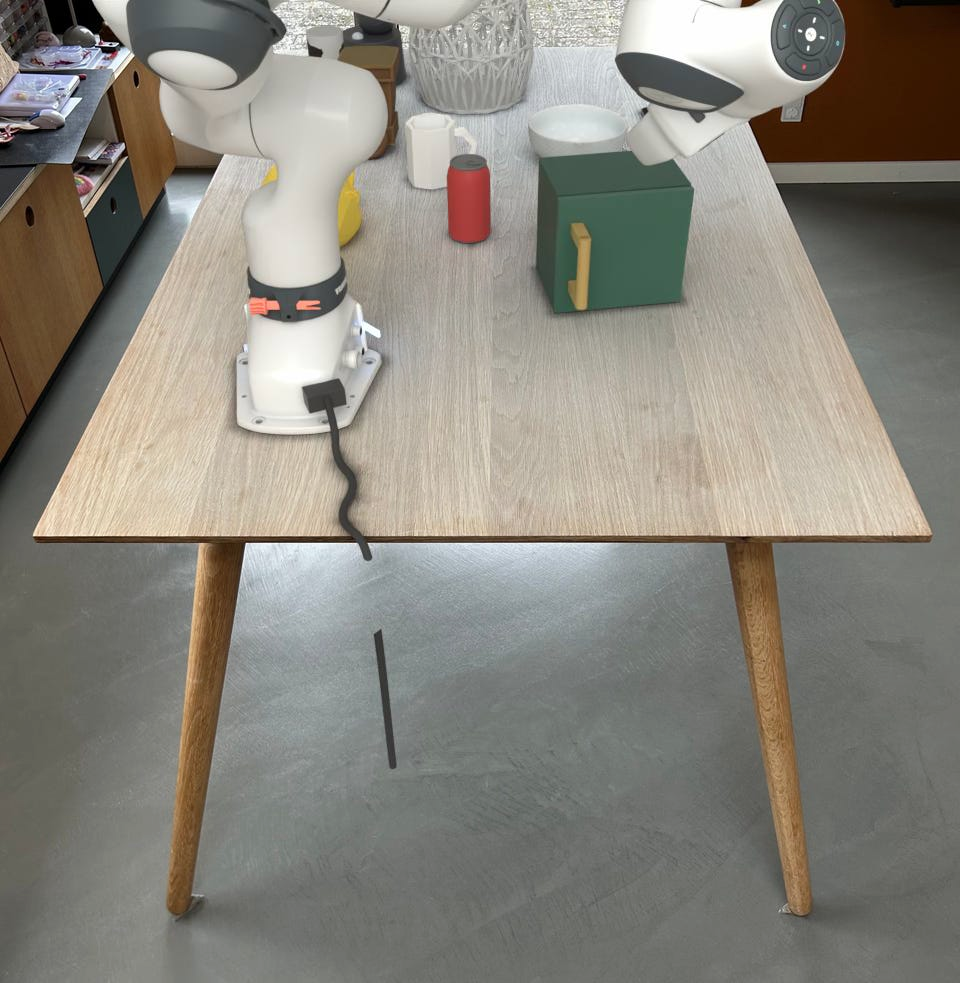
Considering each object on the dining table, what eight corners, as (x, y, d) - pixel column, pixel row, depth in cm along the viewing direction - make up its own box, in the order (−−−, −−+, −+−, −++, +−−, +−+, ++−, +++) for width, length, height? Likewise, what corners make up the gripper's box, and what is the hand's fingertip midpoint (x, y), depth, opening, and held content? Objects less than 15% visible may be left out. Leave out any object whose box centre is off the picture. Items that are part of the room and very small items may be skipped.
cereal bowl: (514, 173, 180) (515, 133, 176) (543, 137, 192) (544, 99, 187) (610, 187, 176) (613, 146, 171) (634, 149, 188) (637, 110, 183)
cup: (348, 104, 206) (341, 24, 196) (351, 116, 201) (343, 35, 191) (314, 106, 205) (305, 26, 195) (315, 119, 200) (306, 37, 190)
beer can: (486, 246, 160) (485, 171, 152) (444, 243, 161) (441, 168, 153) (494, 227, 165) (494, 153, 157) (453, 224, 166) (451, 150, 158)
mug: (408, 190, 176) (405, 133, 169) (408, 169, 182) (405, 113, 176) (479, 188, 176) (478, 130, 170) (477, 167, 182) (476, 111, 176)
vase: (476, 66, 222) (473, -93, 202) (557, 96, 208) (563, -72, 188) (386, 95, 209) (375, -71, 190) (467, 129, 196) (463, -47, 176)
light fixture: (316, -2, 206) (370, -17, 214) (324, 80, 216) (376, 63, 224) (361, 11, 199) (415, -5, 207) (367, 96, 209) (419, 77, 217)
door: (691, 321, 143) (707, 206, 132) (562, 333, 141) (568, 218, 130) (677, 298, 147) (692, 185, 137) (553, 309, 145) (557, 196, 135)
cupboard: (677, 298, 148) (691, 183, 137) (552, 309, 146) (557, 194, 135) (653, 257, 157) (665, 147, 146) (535, 268, 155) (538, 157, 144)
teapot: (235, 236, 164) (221, 158, 155) (326, 197, 174) (318, 121, 166) (318, 279, 153) (308, 197, 145) (410, 234, 163) (405, 155, 155)
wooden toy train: (405, 136, 193) (400, 43, 182) (399, 162, 185) (393, 65, 174) (298, 136, 194) (286, 43, 183) (287, 161, 185) (274, 65, 175)
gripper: (802, -31, 98) (746, 6, 111) (636, 116, 98) (601, 135, 112) (840, 25, 99) (781, 55, 112) (677, 169, 100) (637, 182, 113)
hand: (690, 96), depth 112 cm, fingers open, 8 cm apart
